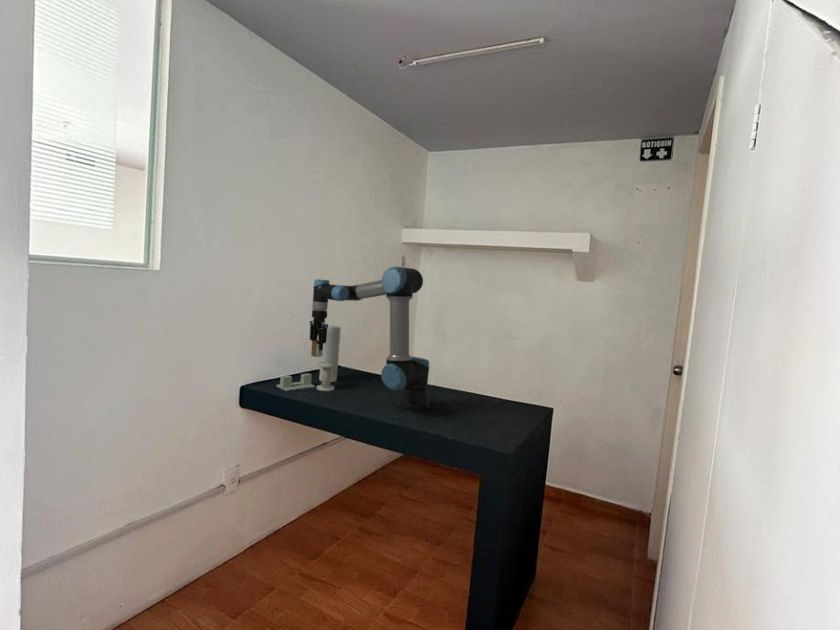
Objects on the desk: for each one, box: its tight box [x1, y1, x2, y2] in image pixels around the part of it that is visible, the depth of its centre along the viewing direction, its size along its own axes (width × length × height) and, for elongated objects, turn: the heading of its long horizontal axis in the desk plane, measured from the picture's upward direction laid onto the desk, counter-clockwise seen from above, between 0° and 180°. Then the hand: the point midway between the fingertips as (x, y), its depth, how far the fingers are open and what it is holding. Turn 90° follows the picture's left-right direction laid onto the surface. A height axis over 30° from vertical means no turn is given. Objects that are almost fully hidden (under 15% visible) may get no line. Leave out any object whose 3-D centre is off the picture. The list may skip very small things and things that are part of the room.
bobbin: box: [316, 361, 336, 392], centre depth 227 cm, size 9×9×13 cm
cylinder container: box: [319, 325, 342, 383], centre depth 245 cm, size 9×9×30 cm
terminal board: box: [276, 372, 316, 392], centre depth 226 cm, size 10×16×6 cm, turn 137°
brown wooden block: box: [310, 339, 323, 358], centre depth 228 cm, size 4×4×8 cm
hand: (316, 355), depth 228 cm, fingers closed on brown wooden block, 4 cm apart
